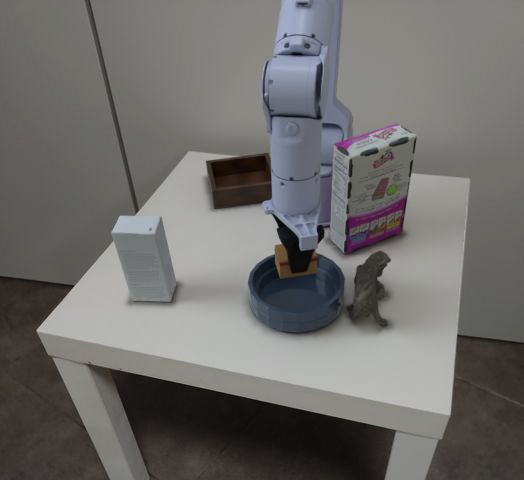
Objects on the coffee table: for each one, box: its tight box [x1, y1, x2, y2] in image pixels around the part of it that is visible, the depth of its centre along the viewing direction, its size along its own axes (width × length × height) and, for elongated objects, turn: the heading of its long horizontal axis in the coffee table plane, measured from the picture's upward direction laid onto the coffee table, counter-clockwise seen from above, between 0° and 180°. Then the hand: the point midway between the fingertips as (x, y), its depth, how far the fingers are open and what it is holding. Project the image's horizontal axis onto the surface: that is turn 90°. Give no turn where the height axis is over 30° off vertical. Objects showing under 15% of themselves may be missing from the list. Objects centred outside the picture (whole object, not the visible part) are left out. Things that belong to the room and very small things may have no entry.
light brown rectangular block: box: [274, 243, 318, 279], centre depth 72 cm, size 5×4×3 cm
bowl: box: [247, 252, 346, 333], centre depth 76 cm, size 13×13×4 cm
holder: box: [205, 152, 272, 210], centre depth 97 cm, size 12×11×4 cm
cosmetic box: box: [110, 215, 177, 303], centre depth 76 cm, size 6×4×12 cm
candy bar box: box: [329, 123, 418, 255], centre depth 81 cm, size 11×5×16 cm, turn 117°
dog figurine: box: [346, 250, 392, 326], centre depth 74 cm, size 12×6×7 cm, turn 166°
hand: (295, 261), depth 73 cm, fingers closed on light brown rectangular block, 3 cm apart
